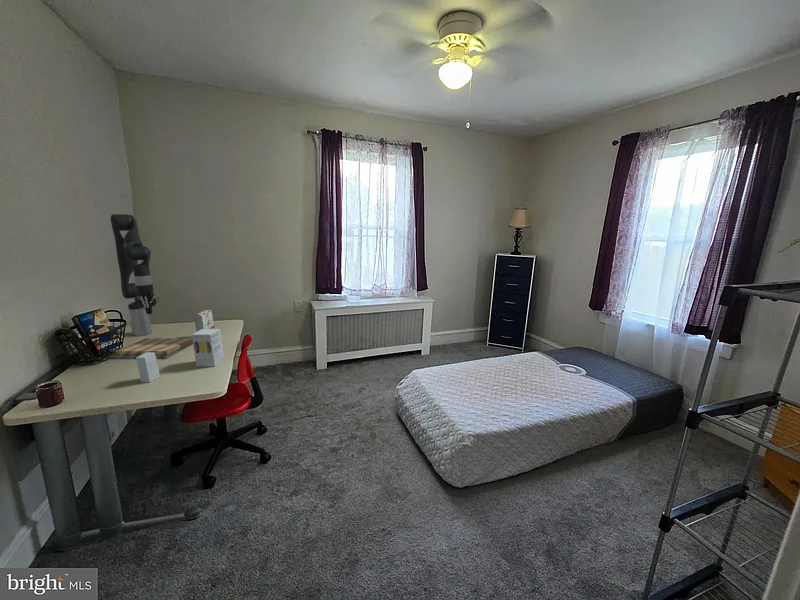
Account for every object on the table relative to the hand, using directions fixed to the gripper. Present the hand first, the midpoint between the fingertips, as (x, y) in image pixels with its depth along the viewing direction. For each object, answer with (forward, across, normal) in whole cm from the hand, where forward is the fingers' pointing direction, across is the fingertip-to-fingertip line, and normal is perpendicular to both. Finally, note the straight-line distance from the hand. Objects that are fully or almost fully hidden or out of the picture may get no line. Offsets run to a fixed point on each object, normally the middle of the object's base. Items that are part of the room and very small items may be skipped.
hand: (149, 313), depth 185 cm
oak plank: (+18, -4, +10) cm, 21 cm away
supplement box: (+18, -47, +22) cm, 54 cm away
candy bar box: (+20, -21, -15) cm, 32 cm away
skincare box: (+18, -30, +40) cm, 53 cm away
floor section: (+20, -4, +5) cm, 21 cm away
